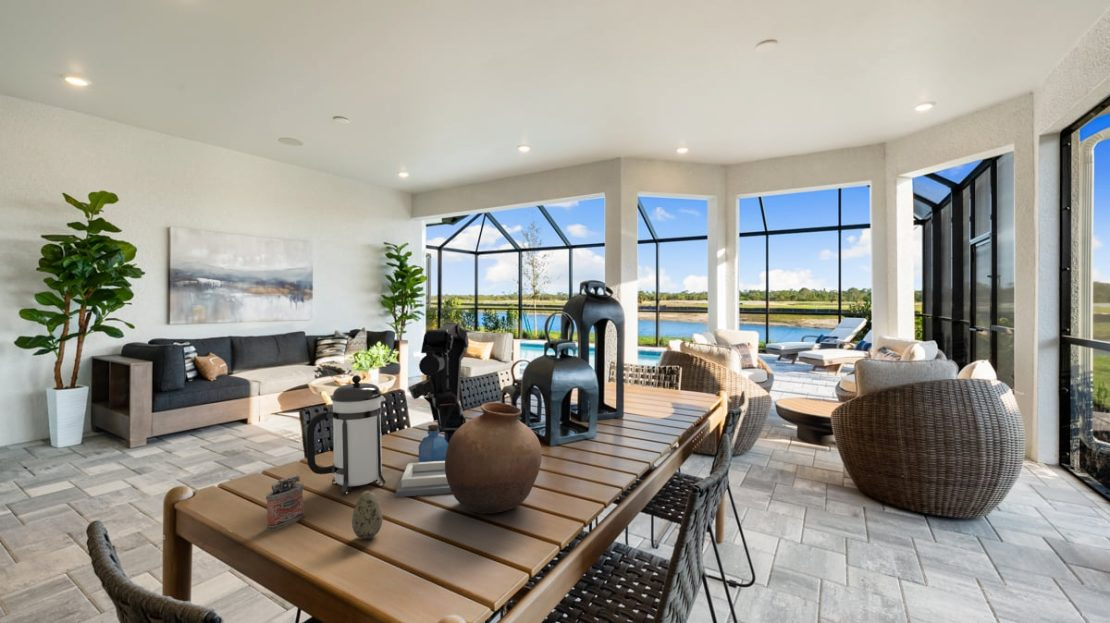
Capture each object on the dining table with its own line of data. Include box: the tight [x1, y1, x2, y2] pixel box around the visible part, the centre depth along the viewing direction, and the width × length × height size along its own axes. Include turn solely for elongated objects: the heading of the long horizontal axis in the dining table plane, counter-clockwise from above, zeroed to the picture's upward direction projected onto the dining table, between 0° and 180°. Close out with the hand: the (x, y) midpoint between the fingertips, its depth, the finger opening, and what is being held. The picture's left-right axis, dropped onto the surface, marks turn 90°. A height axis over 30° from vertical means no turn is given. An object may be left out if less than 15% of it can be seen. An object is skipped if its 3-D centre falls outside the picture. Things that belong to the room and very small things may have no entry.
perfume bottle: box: [418, 424, 448, 462], centre depth 147 cm, size 6×6×12 cm
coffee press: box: [305, 374, 386, 495], centre depth 131 cm, size 17×16×30 cm
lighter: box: [265, 474, 305, 531], centre depth 109 cm, size 8×3×10 cm, turn 148°
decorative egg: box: [351, 490, 383, 540], centre depth 102 cm, size 6×6×10 cm
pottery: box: [445, 401, 543, 514], centre depth 116 cm, size 23×23×25 cm
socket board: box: [395, 461, 452, 498], centre depth 133 cm, size 18×15×4 cm
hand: (439, 423), depth 144 cm, fingers open, 9 cm apart
